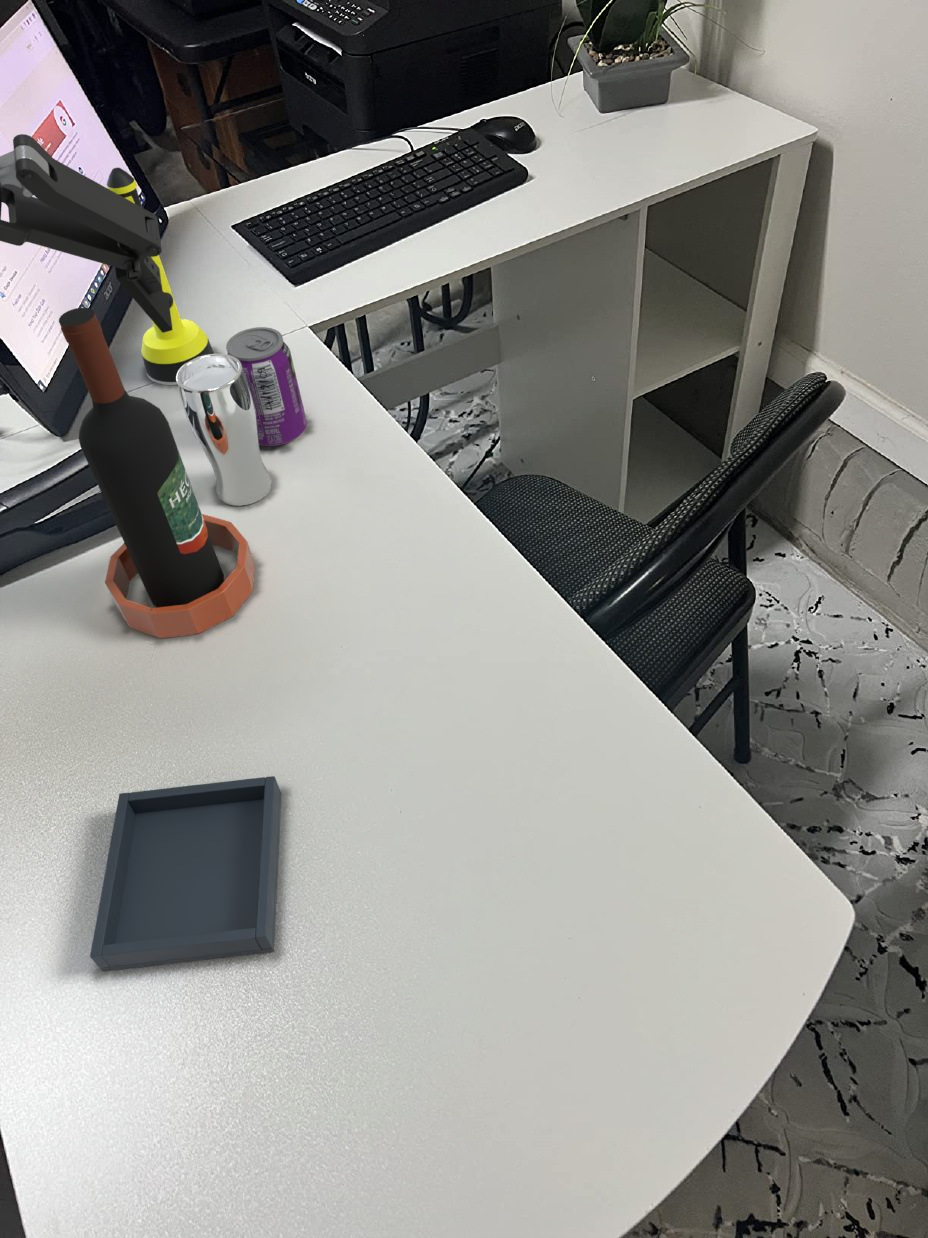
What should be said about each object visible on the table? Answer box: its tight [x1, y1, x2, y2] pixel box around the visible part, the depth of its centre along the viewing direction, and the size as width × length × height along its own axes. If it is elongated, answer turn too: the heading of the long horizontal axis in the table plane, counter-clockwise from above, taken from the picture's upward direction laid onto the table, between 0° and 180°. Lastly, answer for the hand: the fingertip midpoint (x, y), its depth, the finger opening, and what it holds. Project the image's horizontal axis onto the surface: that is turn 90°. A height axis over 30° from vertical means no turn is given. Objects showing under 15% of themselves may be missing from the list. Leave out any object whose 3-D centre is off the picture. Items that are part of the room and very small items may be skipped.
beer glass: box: [176, 353, 273, 507], centre depth 101 cm, size 7×7×15 cm
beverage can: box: [225, 326, 308, 447], centre depth 109 cm, size 7×7×12 cm
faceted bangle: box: [104, 513, 256, 639], centre depth 96 cm, size 14×14×4 cm
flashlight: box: [106, 167, 215, 386], centre depth 115 cm, size 25×9×9 cm
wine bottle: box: [58, 307, 225, 608], centre depth 86 cm, size 8×8×30 cm
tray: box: [89, 775, 282, 972], centre depth 74 cm, size 13×14×3 cm
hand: (77, 340), depth 69 cm, fingers open, 13 cm apart
